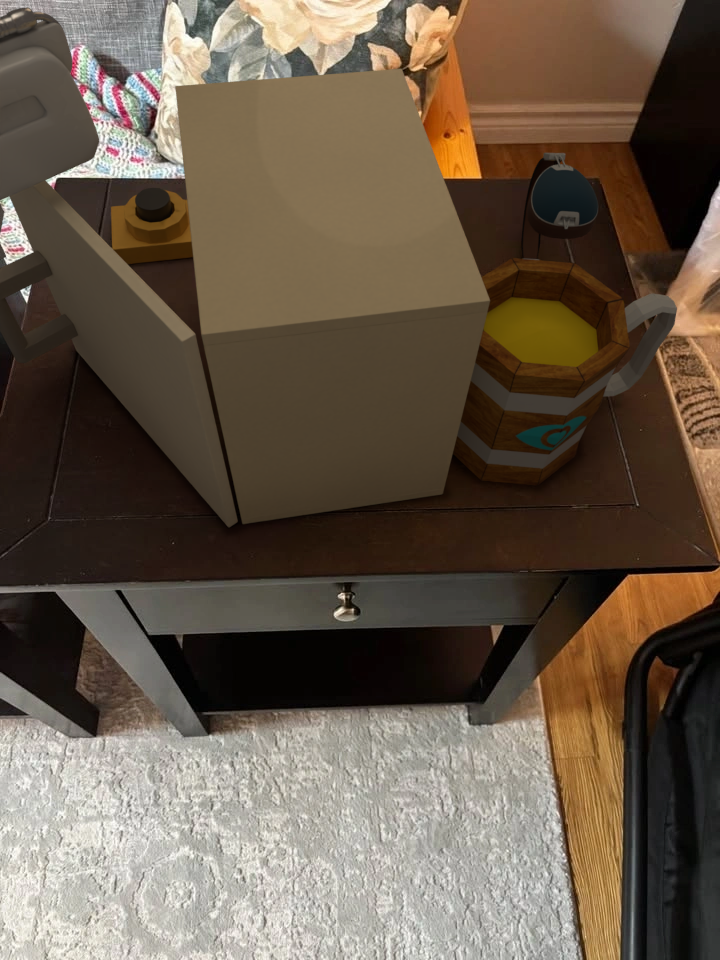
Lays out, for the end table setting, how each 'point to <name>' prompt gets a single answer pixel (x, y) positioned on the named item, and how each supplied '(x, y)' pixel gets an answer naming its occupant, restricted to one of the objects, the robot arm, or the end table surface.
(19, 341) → the door
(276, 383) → the cupboard
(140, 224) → the switch box
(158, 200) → the button
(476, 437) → the mug
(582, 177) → the headphones
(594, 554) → the end table surface
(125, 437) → the end table surface
